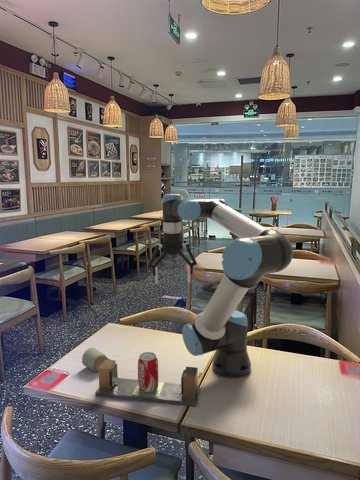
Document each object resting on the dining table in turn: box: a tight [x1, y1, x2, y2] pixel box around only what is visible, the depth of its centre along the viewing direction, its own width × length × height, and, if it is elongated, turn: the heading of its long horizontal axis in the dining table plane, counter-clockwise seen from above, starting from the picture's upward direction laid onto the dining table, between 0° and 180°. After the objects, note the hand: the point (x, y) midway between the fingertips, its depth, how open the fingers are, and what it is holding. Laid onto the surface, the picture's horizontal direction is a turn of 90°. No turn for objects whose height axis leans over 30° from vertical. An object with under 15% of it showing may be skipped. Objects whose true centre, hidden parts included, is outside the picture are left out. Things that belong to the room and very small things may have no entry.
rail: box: [95, 359, 201, 408], centre depth 122 cm, size 35×10×10 cm, turn 80°
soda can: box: [137, 351, 159, 392], centre depth 122 cm, size 7×7×12 cm
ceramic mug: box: [81, 347, 111, 373], centre depth 140 cm, size 11×8×8 cm
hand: (172, 282), depth 147 cm, fingers open, 13 cm apart
